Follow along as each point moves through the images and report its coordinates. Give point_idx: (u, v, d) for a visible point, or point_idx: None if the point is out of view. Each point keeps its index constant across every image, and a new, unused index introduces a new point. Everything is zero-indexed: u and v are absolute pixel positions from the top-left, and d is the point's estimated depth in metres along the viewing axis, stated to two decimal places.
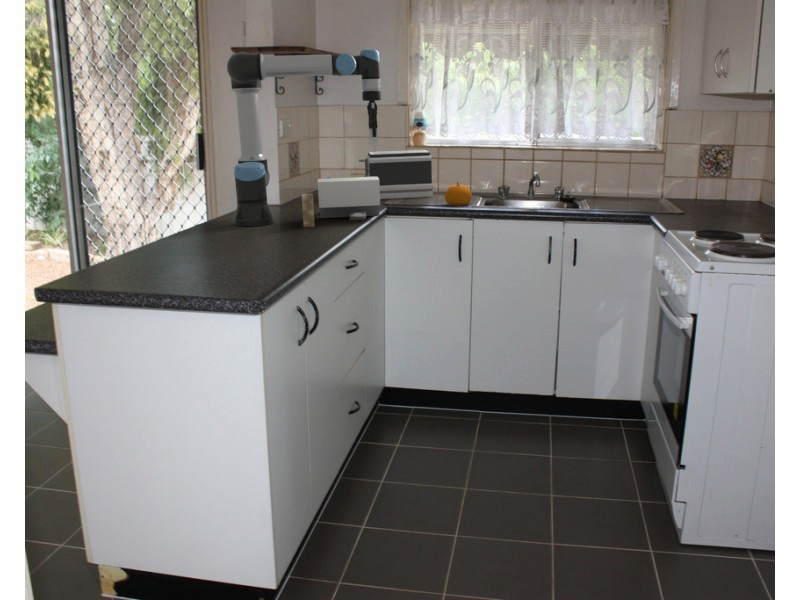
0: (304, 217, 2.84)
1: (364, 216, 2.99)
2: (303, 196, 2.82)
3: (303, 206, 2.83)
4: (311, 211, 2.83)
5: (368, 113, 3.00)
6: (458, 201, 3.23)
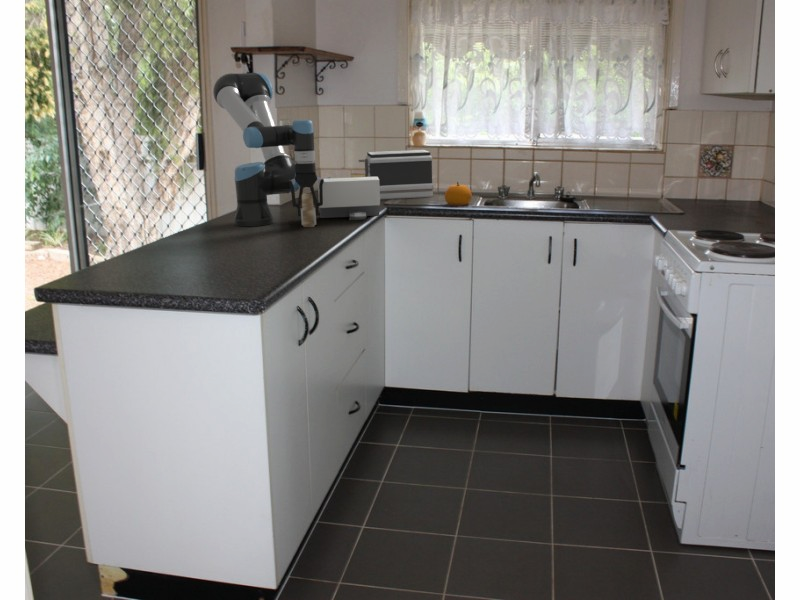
0: (304, 217, 2.84)
1: (364, 216, 2.99)
2: (303, 196, 2.82)
3: (303, 205, 2.83)
4: (311, 211, 2.83)
5: None
6: (458, 201, 3.23)
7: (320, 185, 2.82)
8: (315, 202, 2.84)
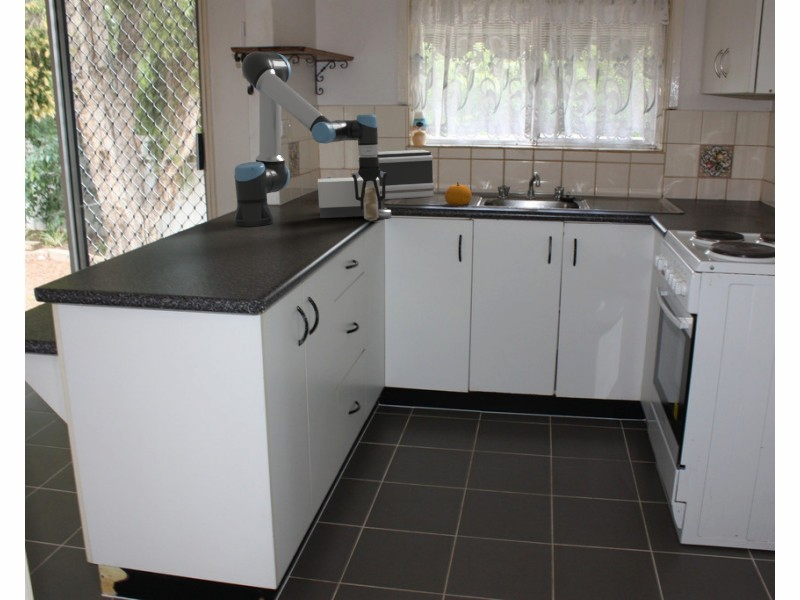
0: (367, 210, 2.87)
1: (388, 215, 2.98)
2: (366, 189, 2.85)
3: (366, 199, 2.86)
4: (374, 204, 2.87)
5: None
6: (458, 201, 3.23)
7: (383, 179, 2.85)
8: (378, 195, 2.87)
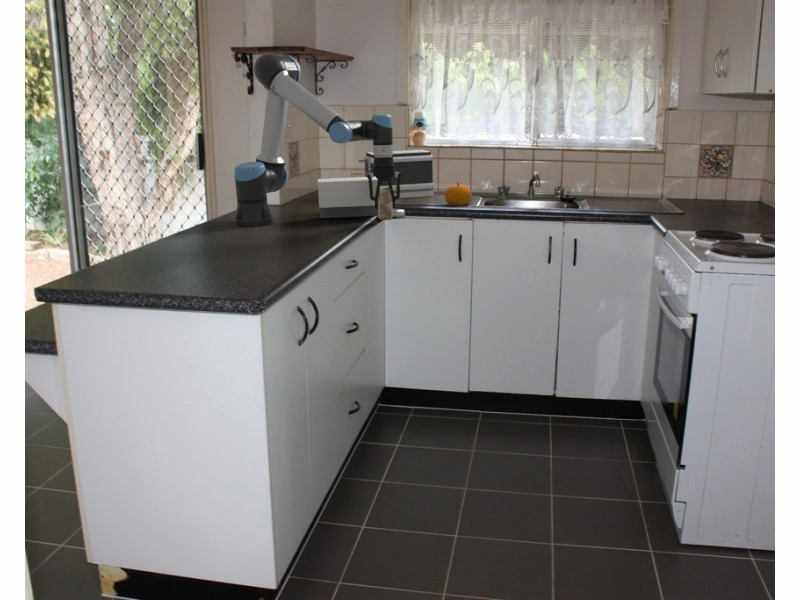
0: (381, 210, 2.88)
1: (401, 215, 2.99)
2: (381, 189, 2.86)
3: (381, 199, 2.87)
4: (388, 204, 2.87)
5: None
6: (458, 201, 3.23)
7: (398, 179, 2.86)
8: (392, 195, 2.87)
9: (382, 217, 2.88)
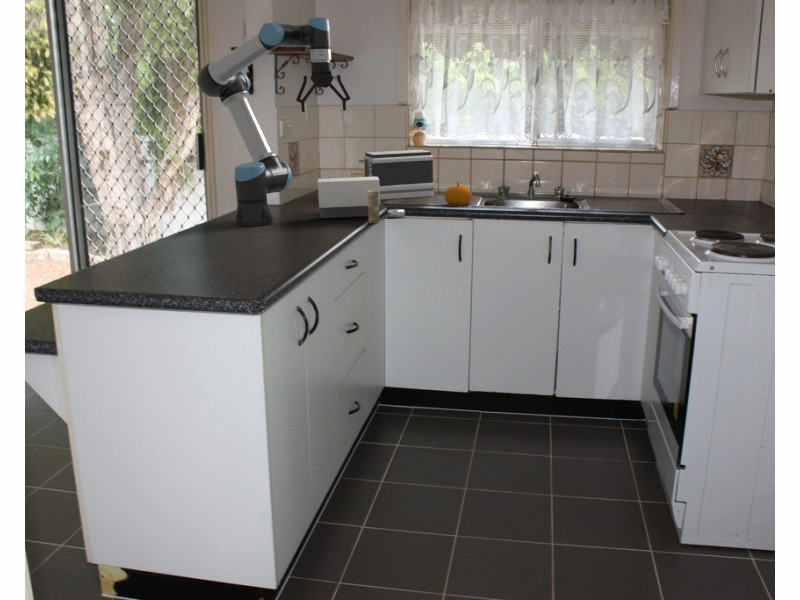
0: (370, 213, 2.88)
1: (401, 215, 2.99)
2: (369, 193, 2.86)
3: (369, 202, 2.87)
4: (377, 207, 2.87)
5: None
6: (458, 201, 3.23)
7: (339, 81, 2.81)
8: (341, 97, 2.82)
9: (370, 220, 2.88)
